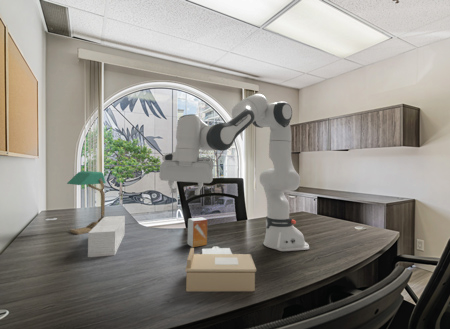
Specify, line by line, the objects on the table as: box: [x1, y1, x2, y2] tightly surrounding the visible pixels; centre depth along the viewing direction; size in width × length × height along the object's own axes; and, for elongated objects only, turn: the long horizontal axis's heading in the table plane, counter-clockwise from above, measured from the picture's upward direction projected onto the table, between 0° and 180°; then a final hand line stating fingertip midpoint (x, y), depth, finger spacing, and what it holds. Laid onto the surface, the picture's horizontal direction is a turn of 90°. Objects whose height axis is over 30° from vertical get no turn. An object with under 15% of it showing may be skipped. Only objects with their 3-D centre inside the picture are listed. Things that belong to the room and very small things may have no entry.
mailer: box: [185, 272, 256, 292], centre depth 83 cm, size 22×13×6 cm, turn 92°
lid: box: [185, 247, 257, 273], centre depth 83 cm, size 23×13×3 cm, turn 92°
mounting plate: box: [201, 246, 233, 254], centre depth 105 cm, size 18×13×2 cm
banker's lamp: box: [66, 170, 106, 235], centre depth 143 cm, size 16×21×35 cm
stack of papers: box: [87, 215, 126, 258], centre depth 119 cm, size 32×11×11 cm, turn 16°
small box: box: [187, 216, 208, 248], centre depth 121 cm, size 8×6×13 cm
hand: (185, 193), depth 90 cm, fingers open, 8 cm apart
